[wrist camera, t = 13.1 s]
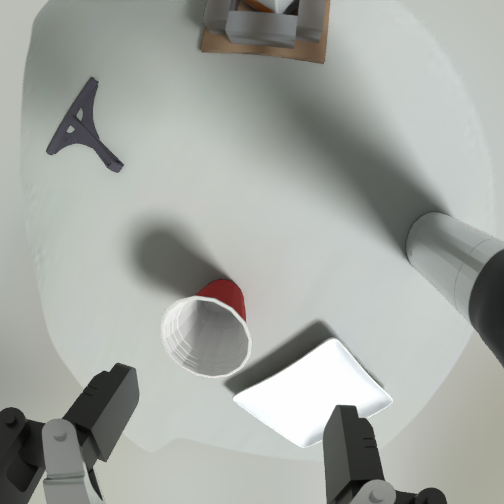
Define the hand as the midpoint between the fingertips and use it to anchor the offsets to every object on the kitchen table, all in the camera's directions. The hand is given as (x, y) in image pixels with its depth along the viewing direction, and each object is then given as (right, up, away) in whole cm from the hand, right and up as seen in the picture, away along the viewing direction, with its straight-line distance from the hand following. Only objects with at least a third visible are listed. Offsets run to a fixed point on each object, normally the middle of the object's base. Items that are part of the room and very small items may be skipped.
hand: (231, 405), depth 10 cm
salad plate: (+12, -19, +37) cm, 44 cm away
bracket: (-23, +23, +28) cm, 43 cm away
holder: (+3, +39, +19) cm, 43 cm away
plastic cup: (-3, 0, +32) cm, 33 cm away
